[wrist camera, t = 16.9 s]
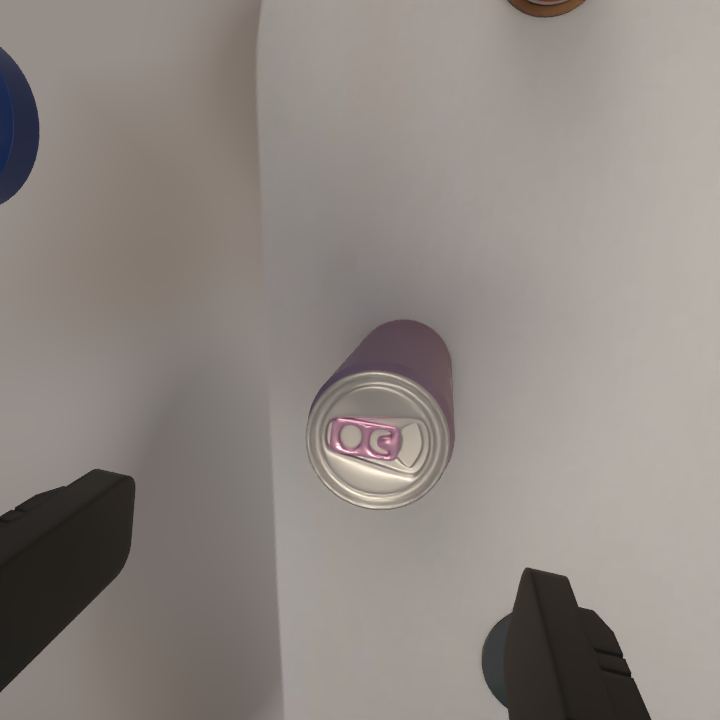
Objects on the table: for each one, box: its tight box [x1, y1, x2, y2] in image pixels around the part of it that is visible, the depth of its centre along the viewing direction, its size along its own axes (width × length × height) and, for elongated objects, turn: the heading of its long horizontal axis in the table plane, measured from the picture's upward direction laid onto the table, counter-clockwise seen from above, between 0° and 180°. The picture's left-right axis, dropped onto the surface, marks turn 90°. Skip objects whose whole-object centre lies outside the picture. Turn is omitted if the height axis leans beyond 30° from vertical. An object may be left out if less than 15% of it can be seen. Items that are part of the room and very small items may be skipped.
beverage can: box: [306, 320, 455, 510], centre depth 29 cm, size 6×6×15 cm
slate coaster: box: [482, 614, 512, 708], centre depth 38 cm, size 9×9×1 cm
